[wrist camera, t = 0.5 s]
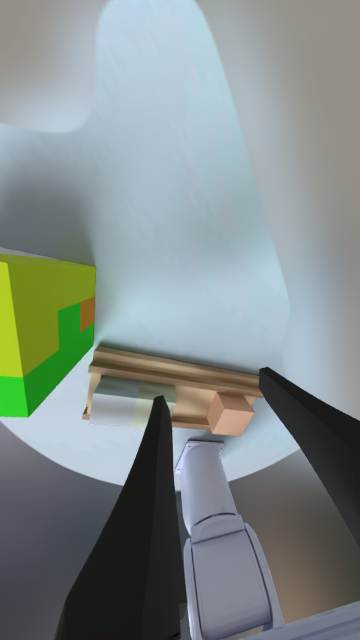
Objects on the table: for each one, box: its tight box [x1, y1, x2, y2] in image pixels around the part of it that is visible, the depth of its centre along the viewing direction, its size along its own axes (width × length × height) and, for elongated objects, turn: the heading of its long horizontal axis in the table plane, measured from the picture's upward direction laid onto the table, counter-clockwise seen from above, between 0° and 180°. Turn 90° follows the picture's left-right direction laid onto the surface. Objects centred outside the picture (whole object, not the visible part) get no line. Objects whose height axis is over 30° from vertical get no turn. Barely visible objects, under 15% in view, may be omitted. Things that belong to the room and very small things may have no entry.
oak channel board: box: [82, 346, 264, 430], centre depth 22 cm, size 12×26×4 cm, turn 73°
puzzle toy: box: [0, 247, 96, 417], centre depth 12 cm, size 10×10×10 cm
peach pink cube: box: [206, 392, 255, 436], centre depth 23 cm, size 5×5×3 cm
